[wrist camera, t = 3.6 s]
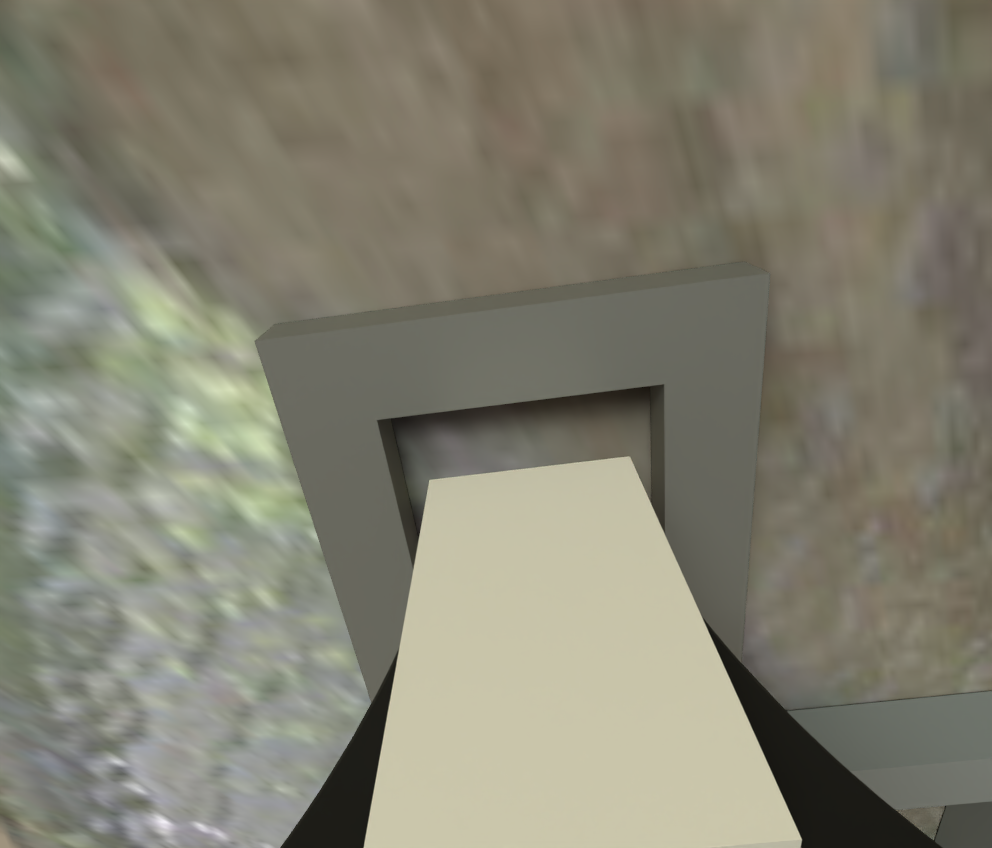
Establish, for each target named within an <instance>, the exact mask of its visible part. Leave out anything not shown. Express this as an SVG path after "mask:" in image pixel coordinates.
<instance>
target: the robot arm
mask: <svg viewBox="0 0 992 848" xmlns="http://www.w3.org/2000/svg"><path fill="white" fill-rule="evenodd" d="M702 618H703V617H702ZM703 621H704V623H705V625H706V627H707V629H708V632H709V634H710V636H711V638H712V641H713V643H714V645H715V647H716V649H717V652H718V654H719V656H720V658H721V661H722V663H723V665H724V667H725V669H726V672H727V674H728V676H729V678H730V681H731V683H732V685H733V687H734V690H735V692H736V694H737V696H738V698H739V701H740V703H741V705H742V707H743V710H744V712H745V714H746V716H747V718H748V721H749V723H750V725H751V727H752V730H753V732H754V734H755V736H756V738H757V741H758V743H759V745H760V747H761V750H762V752H763V754H764V756H765V758H766V761H767V763H768V765H769V767H770V770H771V772H772V774H773V776H774V778H775V781H776V783H777V785H778V787H779V790H780V792H781V794H782V796H783V798H784V801H785V803H786V805H787V807H788V810H789V812H790V814H791V816H792V818H793V821H794V823H795V825H796V827H797V830H798V832H799V834H800V836H801V839H802V842H801V848H943V847H941V846H940V845H939V844H937V843H936V842H935V841H933V840H932V839H931V838H929V837H928V836H927V835H925V834H924V833H923V832H922V831H920V830H919V829H918V828H917V827H915V826H914V825H913V824H912V823H911V822H909V821H908V820H907V819H906V818H905V817H903V816H902V815H901V814H900V813H898V812H897V811H896V810H895V809H894V808H892V807H891V806H890V805H889V804H887V803H886V802H885V801H884V800H883V799H881V798H880V797H879V796H878V795H877V794H876V793H874V792H873V791H872V790H871V789H870V788H869V787H867V786H866V785H865V784H864V783H863V782H862V781H861V780H859V779H858V778H857V777H856V776H855V775H854V774H852V773H851V772H850V771H849V770H848V769H847V768H846V767H845V766H844V765H842V764H841V763H840V762H839V761H838V760H837V759H836V758H835V757H834V756H833V755H831V754H830V753H829V752H828V751H827V750H826V749H825V748H824V747H823V746H822V745H821V744H820V743H819V742H818V741H817V740H816V739H815V738H813V737H812V736H811V735H810V734H809V733H808V732H807V731H806V730H805V729H804V728H803V727H802V726H801V725H800V724H799V723H798V722H797V721H796V720H795V719H794V718H793V717H792V716H791V715H790V714H789V713H788V712H787V711H786V710H785V709H784V708H783V707H782V706H781V705H780V704H779V703H778V702H777V701H776V700H775V699H774V698H773V697H772V695H771V694H770V693H769V692H768V691H767V690H766V689H765V688H764V687H763V686H762V685H761V684H760V683H759V682H758V681H757V680H756V678H755V677H754V676H753V675H752V674H751V673H750V672H749V671H748V670H747V669H746V668H745V667H744V665H743V664H742V663H741V662H740V661H739V660H738V659H737V658H736V656H735V655H734V654H733V653H732V652H731V651H730V649H729V648H728V647H727V646H726V645H725V644H724V642H723V641H722V640H721V639H720V638H719V637H718V635H717V634H716V633H715V632H714V631H713V629H712V628H711V627H710V626H709V624H708V623H707V622H706V621H705V619H704V618H703ZM398 653H399V649H398V651H397V653H396V655H395V658H394V660H393V662H392V664H391V666H390V668H389V670H388V672H387V674H386V676H385V678H384V680H383V682H382V684H381V686H380V688H379V690H378V692H377V694H376V696H375V698H374V699H373V701H372V703H371V705H370V707H369V709H368V710H367V712H366V714H365V716H364V718H363V720H362V721H361V723H360V725H359V727H358V729H357V730H356V732H355V734H354V736H353V737H352V739H351V741H350V743H349V744H348V746H347V748H346V749H345V751H344V752H343V754H342V756H341V757H340V759H339V761H338V762H337V764H336V765H335V767H334V769H333V770H332V772H331V774H330V775H329V777H328V779H327V780H326V782H325V783H324V785H323V787H322V788H321V790H320V791H319V793H318V794H317V796H316V797H315V799H314V800H313V802H312V803H311V805H310V806H309V808H308V809H307V811H306V812H305V814H304V815H303V817H302V818H301V819H300V821H299V822H298V824H297V825H296V827H295V828H294V829H293V831H292V832H291V834H290V835H289V836H288V838H287V839H286V841H285V842H284V843H283V845H282V846H281V848H364V843H365V837H366V832H367V826H368V821H369V815H370V809H371V804H372V798H373V793H374V787H375V781H376V776H377V770H378V765H379V759H380V754H381V748H382V742H383V737H384V731H385V726H386V720H387V714H388V709H389V703H390V698H391V692H392V687H393V681H394V675H395V670H396V664H397V659H398Z"/></svg>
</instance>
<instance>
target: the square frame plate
mask: <svg viewBox="0 0 992 848" xmlns="http://www.w3.org/2000/svg"><path fill="white" fill-rule="evenodd" d="M769 285H770V273H769V272H767V271H765V270H762V269H760V268H758V267H756V266H754V265H751V264H749V263H747V262H738V263H731V264H723V265H716V266H708V267H701V268H693V269H686V270H678V271H671V272H663V273H656V274H648V275H641V276H633V277H626V278H618V279H610V280H603V281H595V282H588V283H580V284H573V285H565V286H558V287H550V288H543V289H535V290H528V291H520V292H513V293H505V294H498V295H490V296H483V297H475V298H468V299H460V300H453V301H445V302H438V303H430V304H423V305H415V306H408V307H400V308H393V309H385V310H378V311H370V312H363V313H355V314H348V315H340V316H333V317H325V318H318V319H310V320H303V321H295V322H288V323H280V324H274V325H273V326H272V327H271V328H270V329H268V330H267V331H266V332H265V333H264V334H263V335H261V336H260V337H259V338H258V339H257V340H255V344H256V347H257V350H258V353H259V356H260V360H261V363H262V366H263V369H264V372H265V375H266V378H267V381H268V384H269V387H270V390H271V394H272V397H273V400H274V403H275V406H276V409H277V412H278V415H279V418H280V421H281V424H282V428H283V431H284V434H285V437H286V440H287V443H288V446H289V449H290V452H291V455H292V458H293V462H294V465H295V468H296V471H297V474H298V477H299V480H300V483H301V486H302V489H303V493H304V496H305V499H306V502H307V505H308V508H309V511H310V514H311V517H312V520H313V523H314V527H315V530H316V533H317V536H318V539H319V542H320V545H321V548H322V551H323V554H324V557H325V561H326V564H327V567H328V570H329V573H330V576H331V579H332V582H333V585H334V588H335V591H336V595H337V598H338V601H339V604H340V607H341V610H342V613H343V616H344V619H345V622H346V625H347V629H348V632H349V635H350V638H351V641H352V644H353V647H354V650H355V653H356V656H357V660H358V663H359V666H360V669H361V672H362V675H363V678H364V681H365V684H366V687H367V690H368V694H369V697H370V700H371V703H372V701H373V699H374V698H375V696H376V694H377V692H378V690H379V688H380V686H381V684H382V682H383V680H384V678H385V676H386V674H387V672H388V670H389V668H390V666H391V664H392V662H393V660H394V658H395V655H396V653H397V651H398V649H399V647H400V642H401V636H402V631H403V625H404V620H405V614H406V608H407V603H408V597H409V592H410V586H411V581H412V575H413V569H414V564H415V558H416V553H417V547H418V541H419V538H418V534H417V530H416V526H415V521H414V517H413V513H412V508H411V504H410V500H409V495H408V491H407V487H406V482H405V478H404V474H403V469H402V465H401V461H400V456H399V452H398V448H397V443H396V439H395V435H394V430H393V426H392V422H391V418H397V417H405V416H413V415H421V414H429V413H437V412H445V411H453V410H461V409H469V408H477V407H485V406H493V405H501V404H509V403H517V402H525V401H533V400H541V399H549V398H558V397H566V396H574V395H582V394H590V393H598V392H606V391H614V390H622V389H630V388H638V387H646V386H650V418H651V478H652V507H653V509H654V512H655V514H656V516H657V518H658V520H659V523H660V525H661V527H662V529H663V532H664V534H665V536H666V538H667V541H668V543H669V545H670V547H671V549H672V552H673V554H674V556H675V558H676V561H677V563H678V565H679V567H680V569H681V572H682V574H683V576H684V578H685V581H686V583H687V585H688V587H689V589H690V592H691V594H692V596H693V598H694V601H695V603H696V605H697V607H698V609H699V612H700V614H701V616H702V617H703V618H704V619H705V621H706V622H707V623H708V624H709V626H710V627H711V628H712V629H713V631H714V632H715V633H716V634H717V635H718V637H719V638H720V639H721V640H722V641H723V642H724V644H725V645H726V646H727V647H728V648H729V649H730V651H731V652H732V653H733V654H734V655H735V656H736V658H737V659H738V660H739V661H740V662H741V663H742V651H743V637H744V624H745V610H746V596H747V583H748V569H749V556H750V542H751V529H752V515H753V502H754V488H755V474H756V461H757V447H758V434H759V420H760V407H761V393H762V380H763V366H764V352H765V339H766V325H767V312H768V298H769Z"/></svg>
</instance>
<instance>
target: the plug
mask: <svg viewBox="0 0 992 848" xmlns="http://www.w3.org/2000/svg"><path fill="white" fill-rule="evenodd" d="M801 842H802V839H801V836H800V834H799V832H798V830H797V827H796V825H795V823H794V821H793V818H792V816H791V814H790V812H789V810H788V807H787V805H786V803H785V801H784V798H783V796H782V794H781V792H780V790H779V787H778V785H777V783H776V781H775V778H774V776H773V774H772V772H771V770H770V767H769V765H768V763H767V761H766V758H765V756H764V754H763V752H762V750H761V747H760V745H759V743H758V741H757V738H756V736H755V734H754V732H753V730H752V727H751V725H750V723H749V721H748V718H747V716H746V714H745V712H744V710H743V707H742V705H741V703H740V701H739V698H738V696H737V694H736V692H735V690H734V687H733V685H732V683H731V681H730V678H729V676H728V674H727V672H726V669H725V667H724V665H723V663H722V661H721V658H720V656H719V654H718V652H717V649H716V647H715V645H714V643H713V641H712V638H711V636H710V634H709V632H708V629H707V627H706V625H705V623H704V621H703V618H702V616H701V614H700V612H699V609H698V607H697V605H696V603H695V601H694V598H693V596H692V594H691V592H690V589H689V587H688V585H687V583H686V581H685V578H684V576H683V574H682V572H681V569H680V567H679V565H678V563H677V561H676V558H675V556H674V554H673V552H672V549H671V547H670V545H669V543H668V541H667V538H666V536H665V534H664V532H663V529H662V527H661V525H660V523H659V520H658V518H657V516H656V514H655V512H654V509H653V507H652V505H651V503H650V500H649V498H648V496H647V494H646V492H645V489H644V487H643V485H642V483H641V480H640V478H639V476H638V474H637V472H636V469H635V467H634V465H633V463H632V460H631V458H630V456H629V457H620V458H612V459H603V460H595V461H586V462H578V463H569V464H561V465H552V466H544V467H535V468H527V469H518V470H510V471H502V472H493V473H485V474H476V475H468V476H459V477H451V478H442V479H434V480H429V486H428V491H427V497H426V502H425V508H424V514H423V519H422V525H421V530H420V536H419V541H418V547H417V553H416V558H415V564H414V569H413V575H412V581H411V586H410V592H409V597H408V603H407V608H406V614H405V620H404V625H403V631H402V636H401V642H400V647H399V653H398V659H397V664H396V670H395V675H394V681H393V687H392V692H391V698H390V703H389V709H388V714H387V720H386V726H385V731H384V737H383V742H382V748H381V754H380V759H379V765H378V770H377V776H376V781H375V787H374V793H373V798H372V804H371V809H370V815H369V821H368V826H367V832H366V837H365V843H364V848H801Z"/></svg>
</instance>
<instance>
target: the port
mask: <svg viewBox="0 0 992 848" xmlns="http://www.w3.org/2000/svg"><path fill="white" fill-rule="evenodd" d="M787 712H788V713H789V714H790V715H791V716H792V717H793V718H794V719H795V720H796V721H797V722H798V723H799V724H800V725H801V726H802V727H803V728H804V729H805V730H806V731H807V732H808V733H809V734H810V735H811V736H812V737H813V738H815V739H816V740H817V741H818V742H819V743H820V744H821V745H822V746H823V747H824V748H825V749H826V750H827V751H828V752H829V753H830V754H831V755H833V756H834V757H835V758H836V759H837V760H838V761H839V762H840V763H841V764H842V765H844V766H845V767H846V768H847V769H848V770H849V771H850V772H851V773H852V774H854V775H855V776H856V777H857V778H858V779H859V780H861V781H862V782H863V783H864V784H865V785H866V786H867V787H869V788H870V789H871V790H872V791H873V792H874V793H876V794H877V795H878V796H879V797H880V798H881V799H883V800H884V801H885V802H886V803H887V804H889V805H890V806H891V807H892V808H894V809H895V810H901V809H912V808H923V807H935V806H946V805H947V806H946V809H945V812H944V815H943V818H942V821H941V824H940V827H939V830H938V833H937V836H936V838H935V842H936V843H937V844H939V845H940V846H941V847H943V848H992V691H987V692H977V693H967V694H957V695H946V696H936V697H926V698H916V699H906V700H895V701H885V702H875V703H865V704H855V705H845V706H834V707H824V708H814V709H804V710H794V711H787Z"/></svg>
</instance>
